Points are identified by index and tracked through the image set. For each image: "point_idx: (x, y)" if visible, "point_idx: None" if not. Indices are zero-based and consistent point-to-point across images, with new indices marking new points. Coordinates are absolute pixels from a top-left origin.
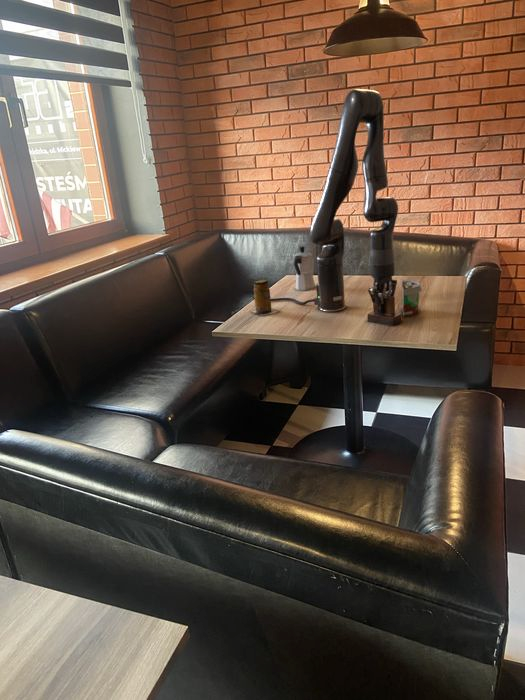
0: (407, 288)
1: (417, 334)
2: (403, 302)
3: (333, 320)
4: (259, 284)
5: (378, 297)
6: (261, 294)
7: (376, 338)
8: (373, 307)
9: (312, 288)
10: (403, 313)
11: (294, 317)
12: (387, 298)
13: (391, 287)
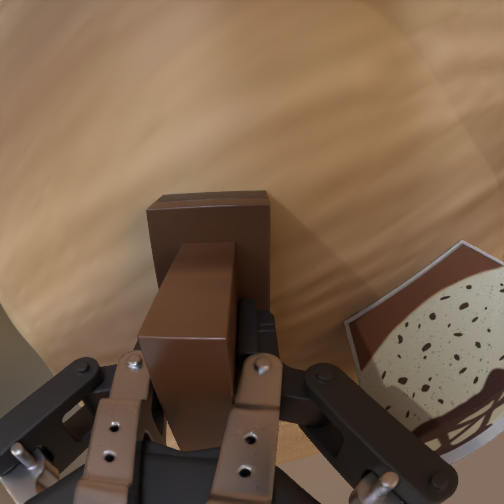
0: (450, 430)
1: (171, 433)
2: (398, 356)
3: (85, 9)
4: None
5: (79, 442)
6: None
7: (49, 356)
8: (171, 267)
9: None
10: (387, 297)
11: None
12: (180, 447)
13: (351, 471)
